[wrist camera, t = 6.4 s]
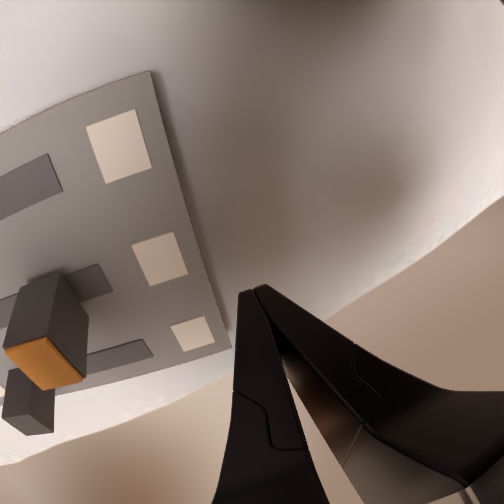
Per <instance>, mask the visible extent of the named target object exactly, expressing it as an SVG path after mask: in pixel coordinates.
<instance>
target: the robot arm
mask: <svg viewBox="0 0 504 504" xmlns="http://www.w3.org/2000/svg"><path fill="white" fill-rule="evenodd" d="M500 1H501V3H502V4H503V5H504V0H500ZM285 373H286V374H285ZM286 375H287V377H288V379H289V380H290V382H291V384H292V385H293V387H294V389H295V391H296V392H297V394H298V396H299V397H300V399H301V401H302V402H303V404H304V406H305V408H306V409H307V411H308V413H309V414H310V416H311V418H312V419H313V421H314V423H315V424H316V426H317V428H318V429H319V431H320V433H321V434H322V436H323V438H324V439H325V441H326V443H327V444H328V446H329V448H330V449H331V451H332V452H333V454H334V456H335V457H336V459H337V461H338V462H339V464H340V466H341V467H343V468H342V469H343V471H344V472H345V474H346V475H347V477H348V478H349V480H350V482H351V483H352V485H353V487H354V488H355V490H356V491H357V493H358V494H359V496H360V498H361V499H362V501H363V502H364V504H504V391H454V390H447V389H443V388H440V387H437V386H435V385H433V384H431V383H428V382H426V381H424V380H422V379H420V378H418V377H415V376H414V375H411V374H409V373H407V372H405V371H403V370H400V369H399V368H397V367H395V366H393V365H391V364H389V363H387V362H385V361H383V360H382V359H380V358H378V357H377V356H375V355H373V354H372V353H370V352H368V351H366V350H365V349H364V348H362V347H360V346H359V345H358V344H354V342H353V341H351V340H350V339H348V338H347V337H345V336H344V335H342V334H341V333H339V332H338V331H336V330H335V329H333V328H332V327H330V326H329V325H327V324H325V323H324V322H323V321H321V320H320V319H318V318H317V317H315V316H314V315H312V314H311V313H309V312H308V311H306V310H305V309H303V308H302V307H300V306H299V305H297V304H296V303H294V302H293V301H291V300H290V299H288V298H287V297H285V296H284V295H282V294H281V293H279V292H278V291H276V290H275V289H273V288H272V287H270V286H269V285H267V284H263V285H260V286H257V287H255V288H254V289H253V290H252V289H248V290H245V291H243V292H240V293H239V295H238V309H237V326H236V343H235V361H234V381H233V396H232V410H231V421H230V427H229V433H228V439H227V444H226V449H225V453H224V458H223V463H222V468H221V472H220V477H219V481H218V485H217V489H216V492H215V495H214V498H213V501H212V503H211V504H330V503H329V501H328V498H327V496H326V494H325V491H324V489H323V486H322V484H321V481H320V479H319V477H318V474H317V472H316V469H315V466H314V463H313V460H312V457H311V454H310V451H309V450H308V445H307V441H306V438H305V435H304V432H303V429H302V426H301V423H300V419H299V416H298V412H297V409H296V406H295V403H294V399H293V396H292V393H291V390H290V387H289V384H288V380H287V377H286Z"/></svg>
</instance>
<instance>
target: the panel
mask: <svg viewBox="0 0 504 504" xmlns="http://www.w3.org/2000/svg"><path fill="white" fill-rule="evenodd" d="M59 272H61V274H62V276H63V277H64V279H65V280H66V282H67V284H68V285H69V287H70V288H71V290H72V292H73V293H74V295H75V296H76V298H77V299H78V301H79V302H80V304H81V305H82V307H83V308H84V310H85V311H86V313H87V314H88V316H89V327H88V343H87V371H86V378H85V379H82V382H80V383H76V384H72V385H67V386H63V387H58V388H53V389H49V390H44V391H43V390H42V389H41V388H40V387H38V386H37V385H36V384H35V383H34V382H33V381H32V380H31V379H30V378H29V377H28V376H27V375H26V374H25V373H24V372H23V371H22V370H21V369H20V368H19V367H18V366H17V365H16V364H15V363H14V362H13V361H12V360H11V359H10V358H9V357H8V356H7V355H6V354H5V350H4V349H3V348H2V347H3V343H4V339H5V335H6V331H7V328H8V324H9V321H10V317H11V314H12V311H13V308H14V304H15V301H16V298H17V295H18V292H19V289H20V287H22V286H24V285H27V284H30V283H32V282H35V281H38V280H40V279H43V278H45V277H48V276H51V275H53V274H56V273H59ZM230 348H232V345H231V343H230V340H229V337H228V334H227V331H226V328H225V325H224V323H223V320H222V317H221V314H220V311H219V308H218V305H217V302H216V299H215V296H214V293H213V290H212V287H211V284H210V281H209V278H208V275H207V272H206V269H205V265H204V262H203V259H202V256H201V253H200V250H199V247H198V243H197V240H196V237H195V234H194V230H193V227H192V224H191V221H190V217H189V214H188V211H187V207H186V204H185V201H184V197H183V194H182V190H181V187H180V183H179V180H178V176H177V173H176V169H175V166H174V162H173V159H172V155H171V151H170V148H169V144H168V140H167V137H166V133H165V129H164V125H163V122H162V118H161V114H160V110H159V106H158V102H157V98H156V94H155V90H154V86H153V82H152V78H151V74H150V71H146V72H143V73H140V74H136V75H133V76H130V77H127V78H124V79H121V80H118V81H115V82H113V83H110V84H107V85H104V86H102V87H99V88H96V89H94V90H91V91H88V92H86V93H83V94H81V95H79V96H76V97H74V98H71V99H69V100H67V101H64V102H62V103H60V104H58V105H56V106H53V107H51V108H49V109H47V110H45V111H43V112H41V113H39V114H37V115H35V116H33V117H31V118H29V119H27V120H25V121H23V122H21V123H19V124H17V125H15V126H14V127H12V128H10V129H8V130H6V131H5V132H3V133H1V134H0V405H3V410H2V419H4V420H5V421H6V422H8V423H9V424H10V425H12V426H13V427H15V428H16V429H17V430H19V431H20V432H22V433H23V434H25V435H26V436H29V435H38V434H47V433H54V403H55V396H56V395H61V394H66V393H71V392H75V391H80V390H84V389H89V388H93V387H97V386H101V385H105V384H109V383H113V382H117V381H121V380H125V379H129V378H133V377H137V376H140V375H144V374H148V373H151V372H155V371H158V370H162V369H165V368H169V367H172V366H176V365H179V364H182V363H186V362H189V361H192V360H195V359H199V358H202V357H205V356H208V355H211V354H214V353H218V352H221V351H224V350H227V349H230Z"/></svg>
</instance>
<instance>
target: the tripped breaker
mask: <svg viewBox="0 0 504 504" xmlns="http://www.w3.org/2000/svg"><path fill="white" fill-rule="evenodd" d="M88 327H89V316H88V314H87V313H86V311H85V310H84V308H83V307H82V305H81V304H80V302H79V301H78V299H77V298H76V296H75V295H74V293H73V292H72V290H71V288H70V287H69V285H68V284H67V282H66V280H65V279H64V277H63V276H62V274H61V272H59V273H56V274H53V275H51V276H48V277H45V278H43V279H40V280H38V281H35V282H32V283H30V284H27V285H24V286H22V287H20V289H19V292H18V295H17V298H16V301H15V304H14V308H13V311H12V314H11V317H10V321H9V324H8V328H7V331H6V335H5V339H4V343H3V347H2V348H3V349H4V350H5V354H6V355H7V356H8V357H9V358H10V359H11V360H12V361H13V362H14V363H15V364H16V365H17V366H18V367H19V368H20V369H21V370H22V371H23V372H24V373H25V374H26V375H27V376H28V377H29V378H30V379H31V380H32V381H33V382H34V383H35V384H36V385H37V386H38V387H40V388H41V389H42V390H43V391H44V390H49V389H53V388H58V387H63V386H67V385H72V384H76V383H80V382H82V379H85V378H86V371H87V343H88Z"/></svg>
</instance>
